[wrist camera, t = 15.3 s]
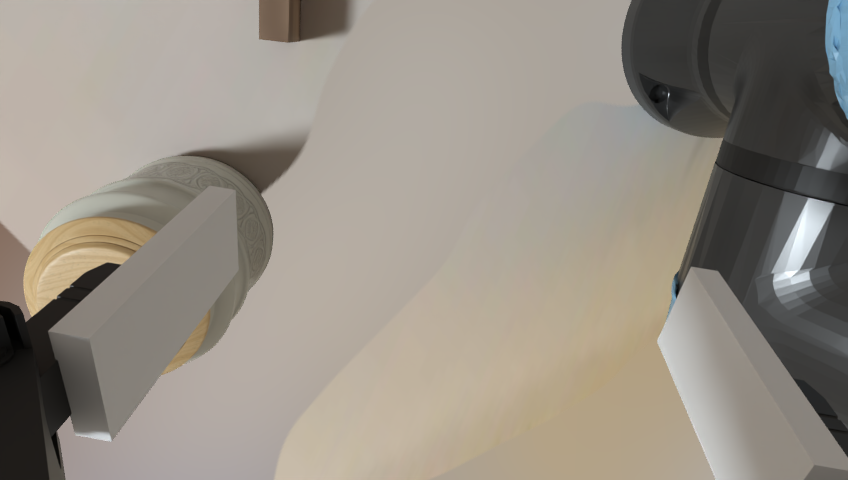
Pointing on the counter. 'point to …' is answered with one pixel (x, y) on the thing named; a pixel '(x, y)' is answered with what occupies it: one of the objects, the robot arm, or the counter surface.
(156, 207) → the jar
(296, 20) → the guide jig
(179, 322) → the robot arm
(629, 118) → the counter surface
